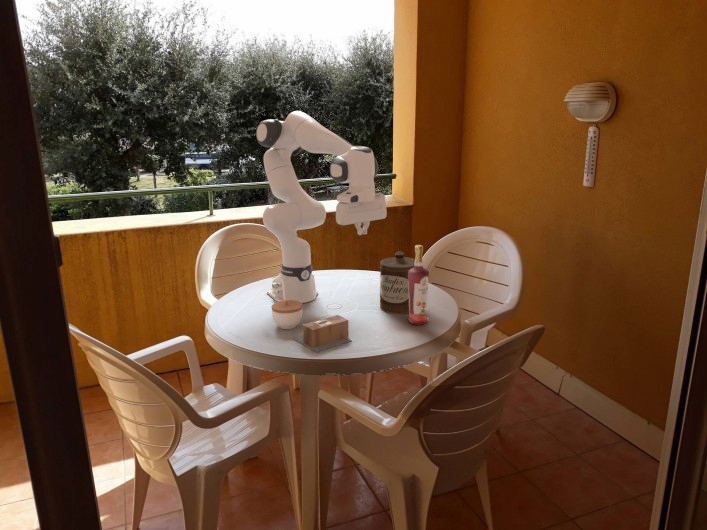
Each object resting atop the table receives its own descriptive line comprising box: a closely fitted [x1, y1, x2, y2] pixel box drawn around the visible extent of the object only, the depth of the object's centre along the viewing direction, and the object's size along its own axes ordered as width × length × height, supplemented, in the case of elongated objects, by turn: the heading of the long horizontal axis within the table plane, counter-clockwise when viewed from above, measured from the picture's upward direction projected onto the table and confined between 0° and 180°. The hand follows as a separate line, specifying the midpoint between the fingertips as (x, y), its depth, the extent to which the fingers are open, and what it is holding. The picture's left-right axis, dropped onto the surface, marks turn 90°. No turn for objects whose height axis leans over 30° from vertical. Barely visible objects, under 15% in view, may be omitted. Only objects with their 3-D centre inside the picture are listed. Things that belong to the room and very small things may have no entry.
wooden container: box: [379, 251, 415, 315], centre depth 210 cm, size 15×15×22 cm
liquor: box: [407, 244, 430, 326], centre depth 194 cm, size 7×7×28 cm
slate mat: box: [292, 334, 353, 353], centre depth 184 cm, size 14×14×1 cm
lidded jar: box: [271, 300, 303, 330], centre depth 195 cm, size 11×11×9 cm
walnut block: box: [302, 314, 350, 348], centre depth 183 cm, size 6×6×14 cm
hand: (362, 234), depth 194 cm, fingers closed
